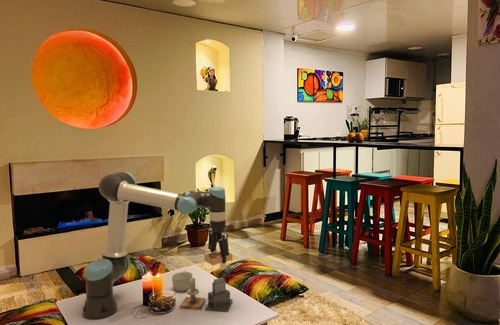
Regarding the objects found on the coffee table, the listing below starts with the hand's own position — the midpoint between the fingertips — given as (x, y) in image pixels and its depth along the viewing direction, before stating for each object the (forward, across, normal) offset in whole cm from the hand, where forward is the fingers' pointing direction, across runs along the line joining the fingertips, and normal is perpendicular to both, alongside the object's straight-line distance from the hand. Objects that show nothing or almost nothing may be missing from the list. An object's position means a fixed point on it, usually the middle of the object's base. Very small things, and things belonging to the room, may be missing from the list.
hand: (218, 267), depth 185 cm
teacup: (+20, +30, +4) cm, 36 cm away
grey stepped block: (+19, 0, 0) cm, 19 cm away
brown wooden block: (-3, 0, 0) cm, 3 cm away
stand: (+19, +9, +9) cm, 23 cm away
